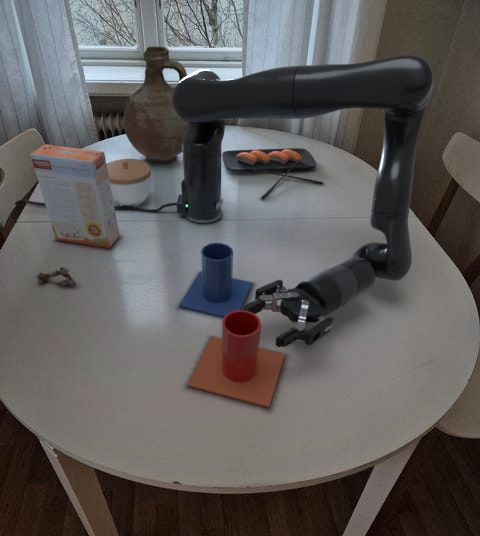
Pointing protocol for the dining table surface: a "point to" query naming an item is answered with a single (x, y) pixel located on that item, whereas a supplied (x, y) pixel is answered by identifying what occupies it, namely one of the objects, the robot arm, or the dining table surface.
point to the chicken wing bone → (62, 271)
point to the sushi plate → (270, 161)
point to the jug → (155, 110)
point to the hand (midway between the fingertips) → (260, 327)
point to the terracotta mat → (249, 391)
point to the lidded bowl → (129, 181)
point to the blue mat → (200, 304)
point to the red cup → (240, 345)
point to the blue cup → (217, 272)
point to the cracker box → (77, 194)
